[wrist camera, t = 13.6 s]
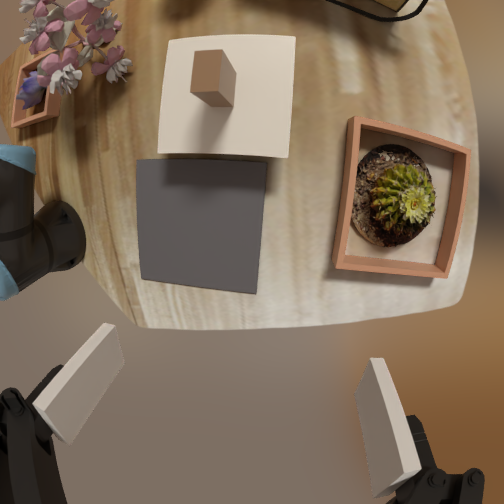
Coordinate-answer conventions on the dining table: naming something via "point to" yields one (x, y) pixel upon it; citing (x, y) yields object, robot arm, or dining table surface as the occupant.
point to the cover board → (250, 103)
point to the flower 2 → (56, 38)
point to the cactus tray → (452, 216)
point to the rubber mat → (200, 221)
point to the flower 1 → (31, 91)
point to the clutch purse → (396, 3)
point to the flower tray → (50, 103)
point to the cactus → (392, 196)
